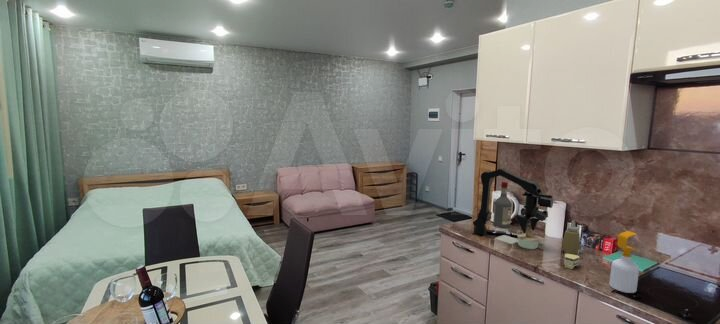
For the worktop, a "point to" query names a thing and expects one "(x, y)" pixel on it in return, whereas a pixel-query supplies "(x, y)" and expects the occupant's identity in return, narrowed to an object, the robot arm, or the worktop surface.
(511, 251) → the worktop surface
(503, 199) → the liquor
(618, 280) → the soap bottle
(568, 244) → the squeeze bottle
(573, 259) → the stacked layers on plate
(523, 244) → the bowl
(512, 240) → the mat
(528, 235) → the lid
